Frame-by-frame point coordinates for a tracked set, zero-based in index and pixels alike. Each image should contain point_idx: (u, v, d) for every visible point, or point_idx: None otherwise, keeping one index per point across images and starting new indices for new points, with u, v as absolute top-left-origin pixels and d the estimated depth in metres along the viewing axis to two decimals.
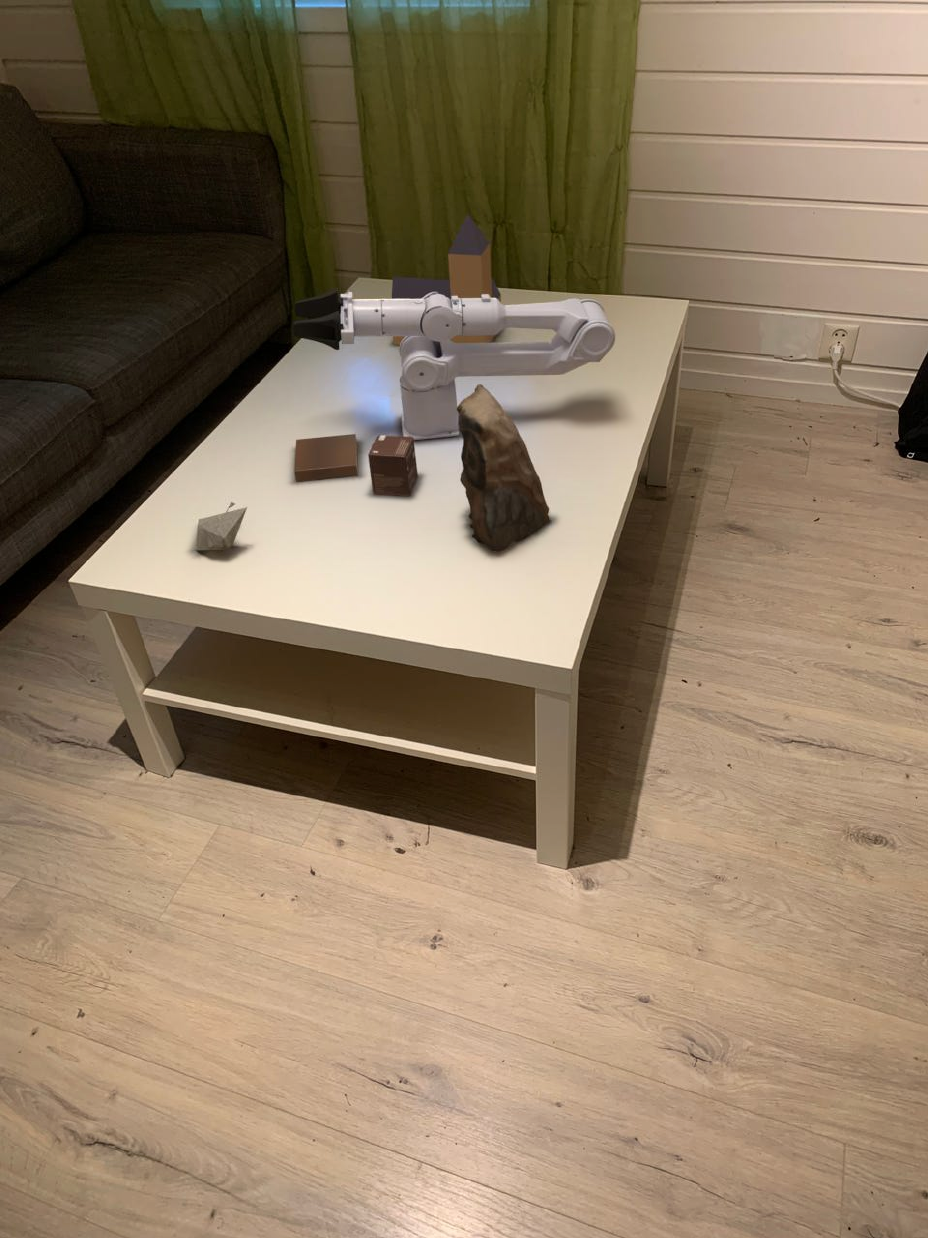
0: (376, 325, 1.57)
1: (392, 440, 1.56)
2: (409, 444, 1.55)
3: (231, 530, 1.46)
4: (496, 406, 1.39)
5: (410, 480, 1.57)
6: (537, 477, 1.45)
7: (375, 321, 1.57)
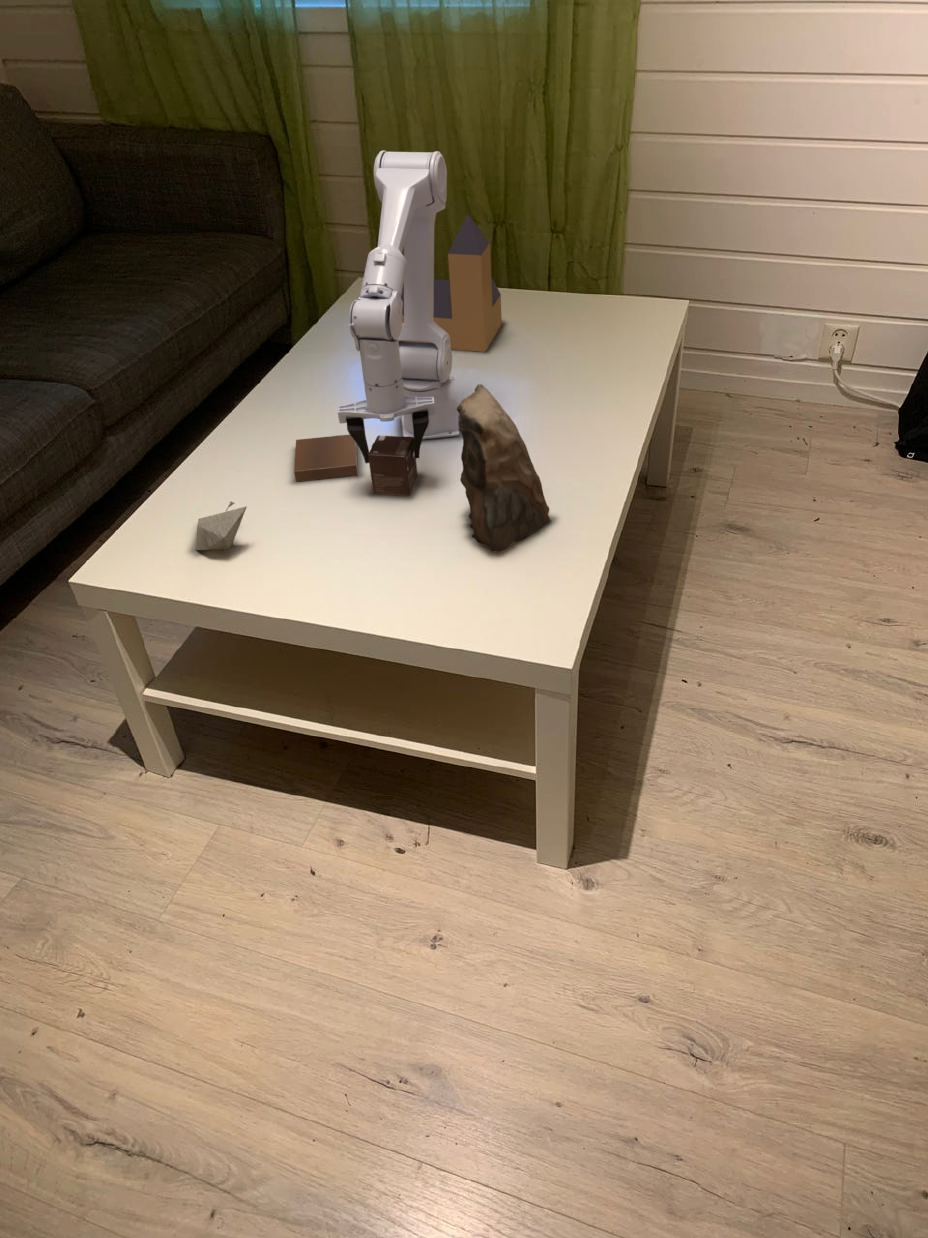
0: (402, 380, 1.48)
1: (392, 440, 1.56)
2: (409, 444, 1.55)
3: (231, 529, 1.46)
4: (496, 406, 1.39)
5: (410, 480, 1.57)
6: (537, 477, 1.45)
7: (402, 383, 1.48)
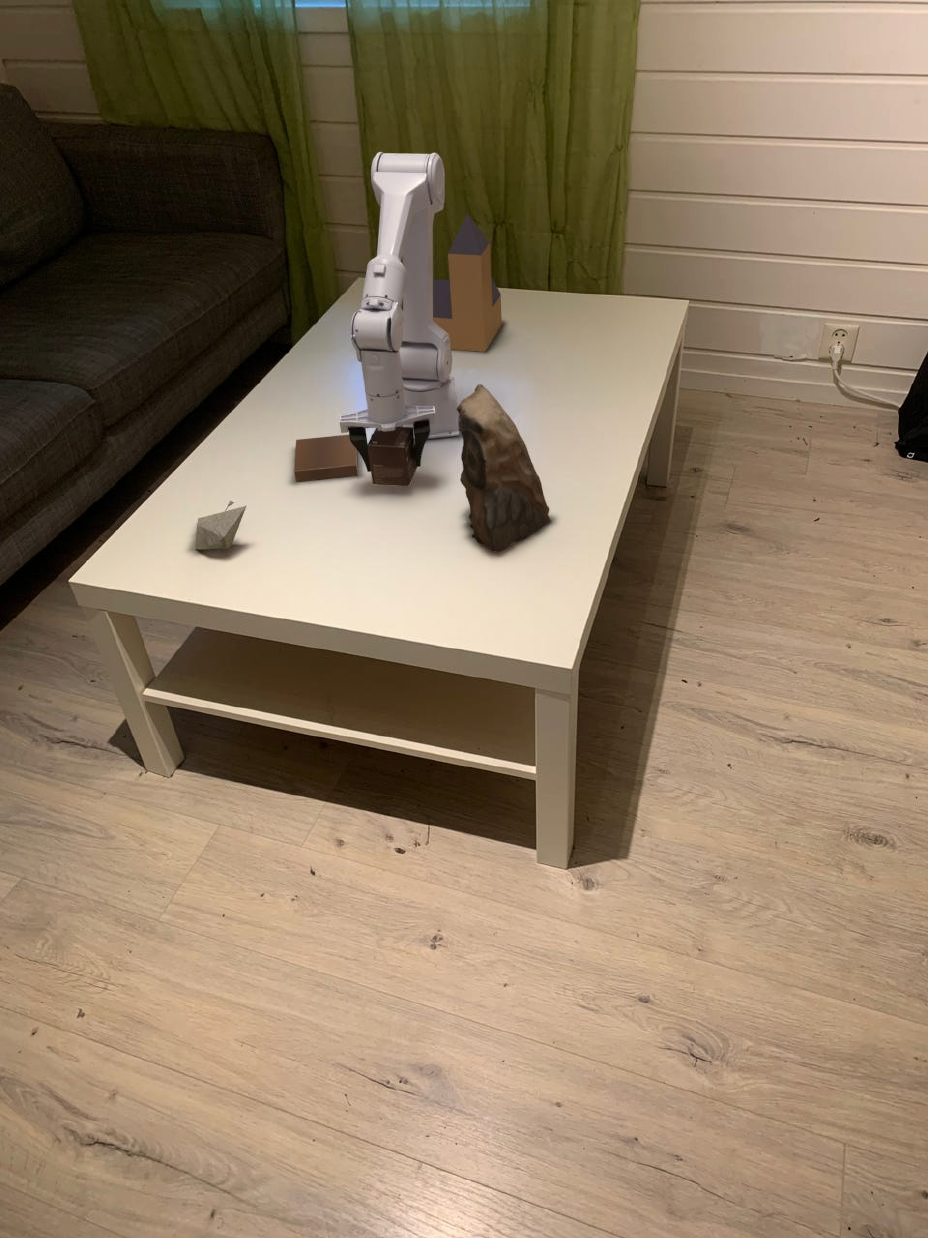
0: (403, 390, 1.49)
1: None
2: (409, 434, 1.54)
3: (231, 529, 1.46)
4: (496, 406, 1.39)
5: (410, 471, 1.56)
6: (537, 477, 1.45)
7: (403, 393, 1.49)
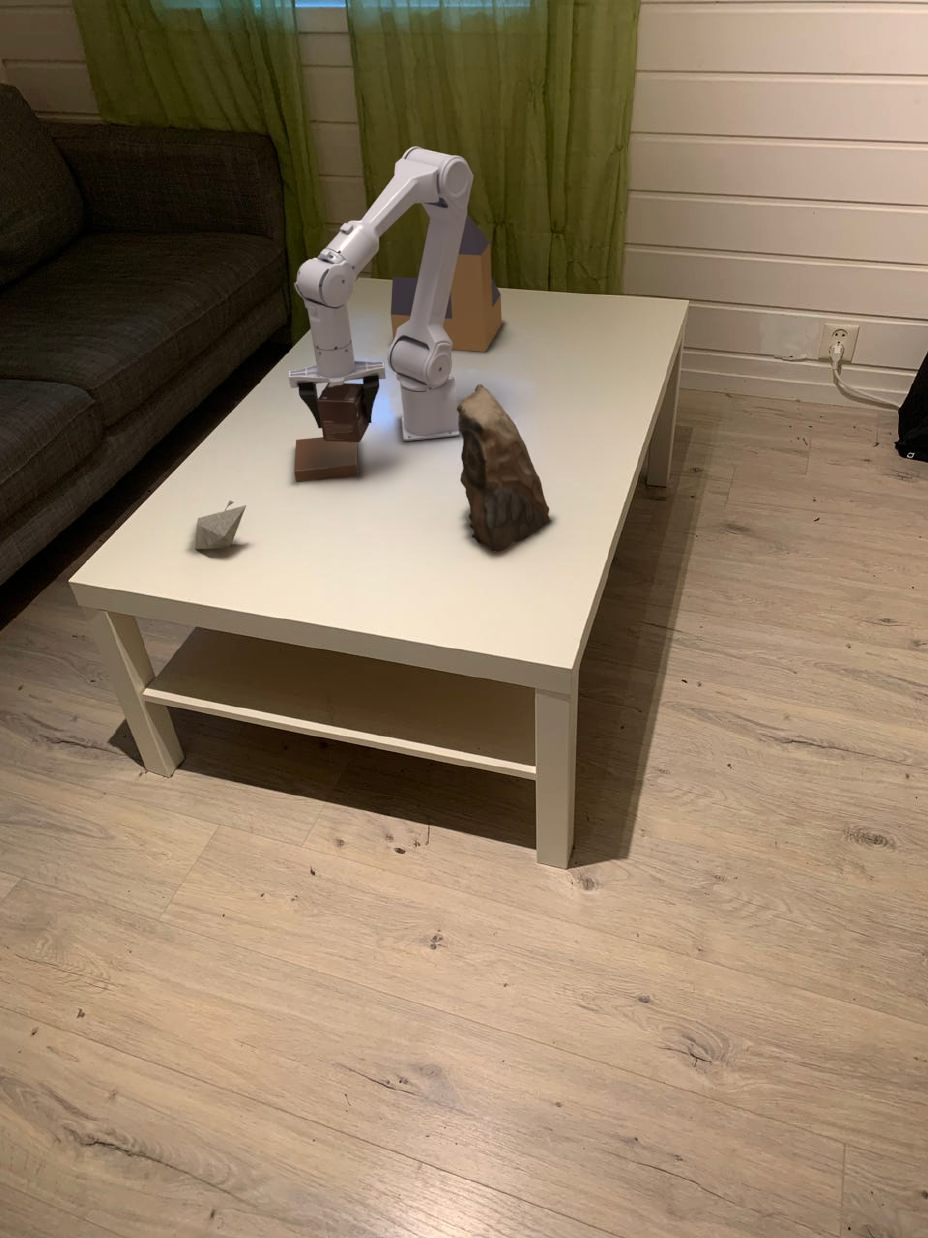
0: None
1: (342, 386, 1.56)
2: (359, 390, 1.55)
3: (230, 528, 1.46)
4: (496, 406, 1.39)
5: (360, 427, 1.57)
6: (537, 477, 1.45)
7: (351, 347, 1.50)
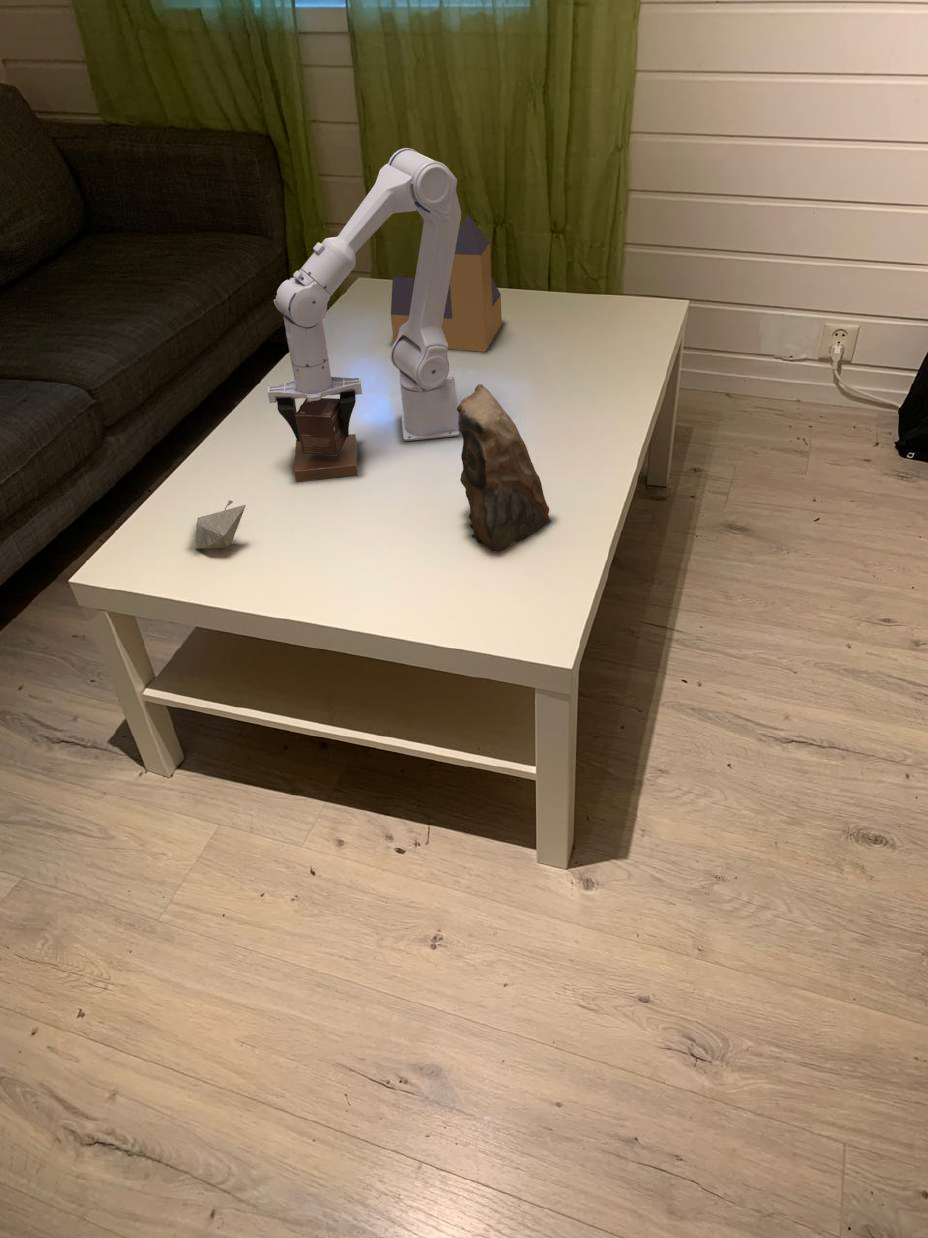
0: (328, 361, 1.55)
1: (320, 401, 1.61)
2: (336, 405, 1.60)
3: (230, 528, 1.46)
4: (496, 406, 1.39)
5: (337, 441, 1.61)
6: (537, 477, 1.45)
7: (328, 364, 1.55)
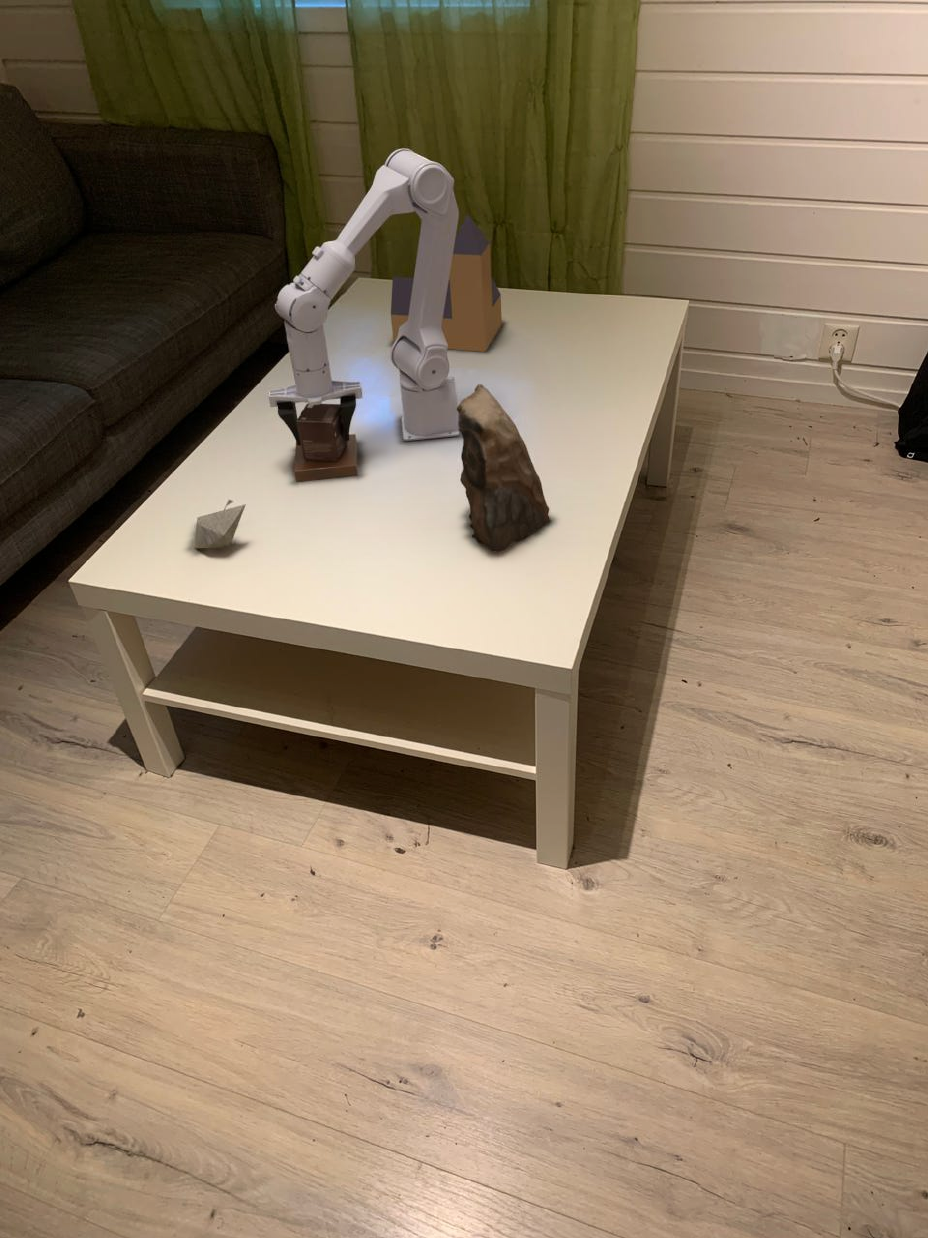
0: (329, 365, 1.55)
1: (320, 407, 1.62)
2: (336, 411, 1.60)
3: (230, 527, 1.46)
4: (496, 406, 1.39)
5: (339, 446, 1.62)
6: (537, 477, 1.45)
7: (329, 368, 1.55)
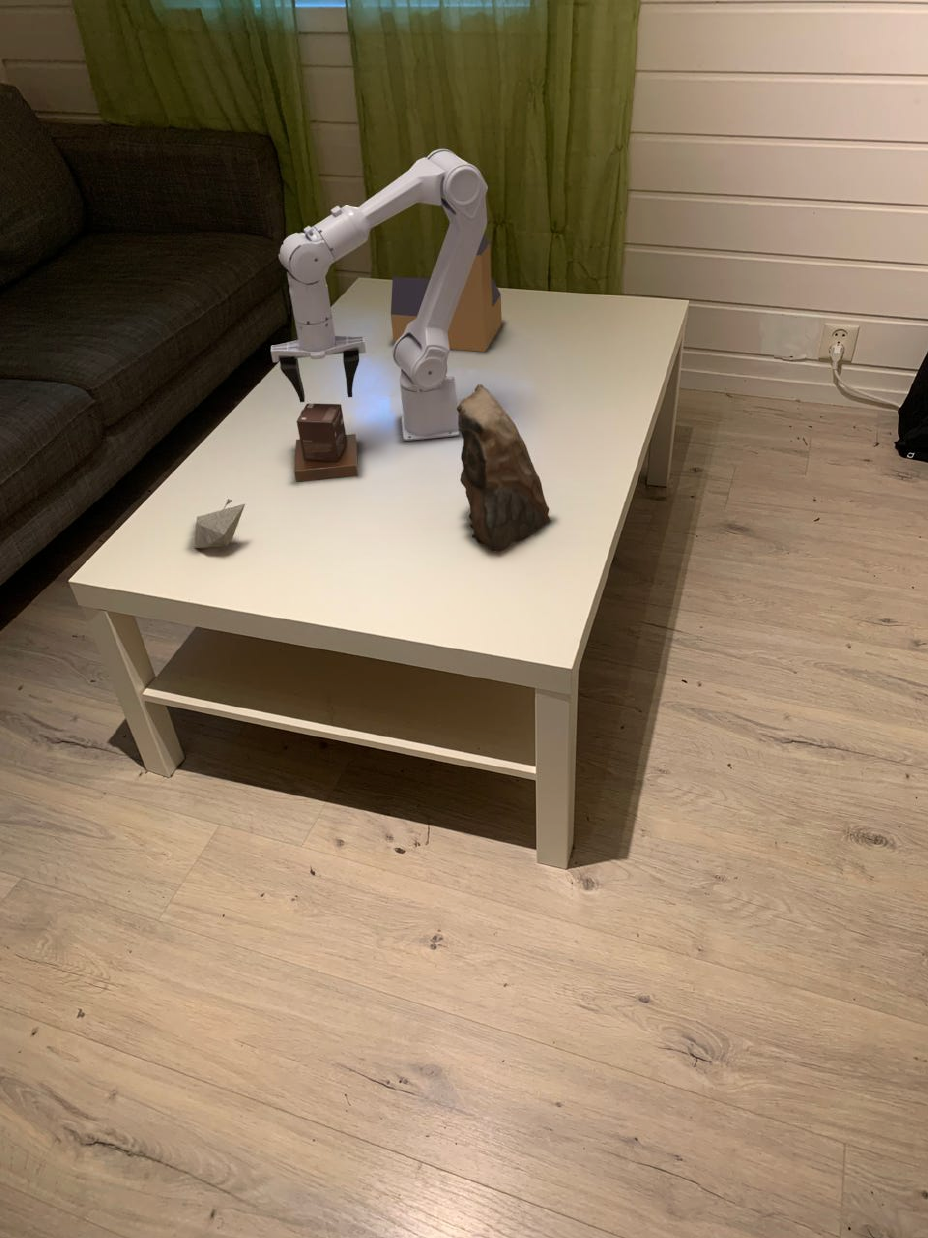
0: None
1: (321, 407, 1.62)
2: (337, 411, 1.60)
3: (230, 526, 1.46)
4: (496, 406, 1.39)
5: (339, 446, 1.62)
6: (537, 477, 1.45)
7: (332, 322, 1.53)
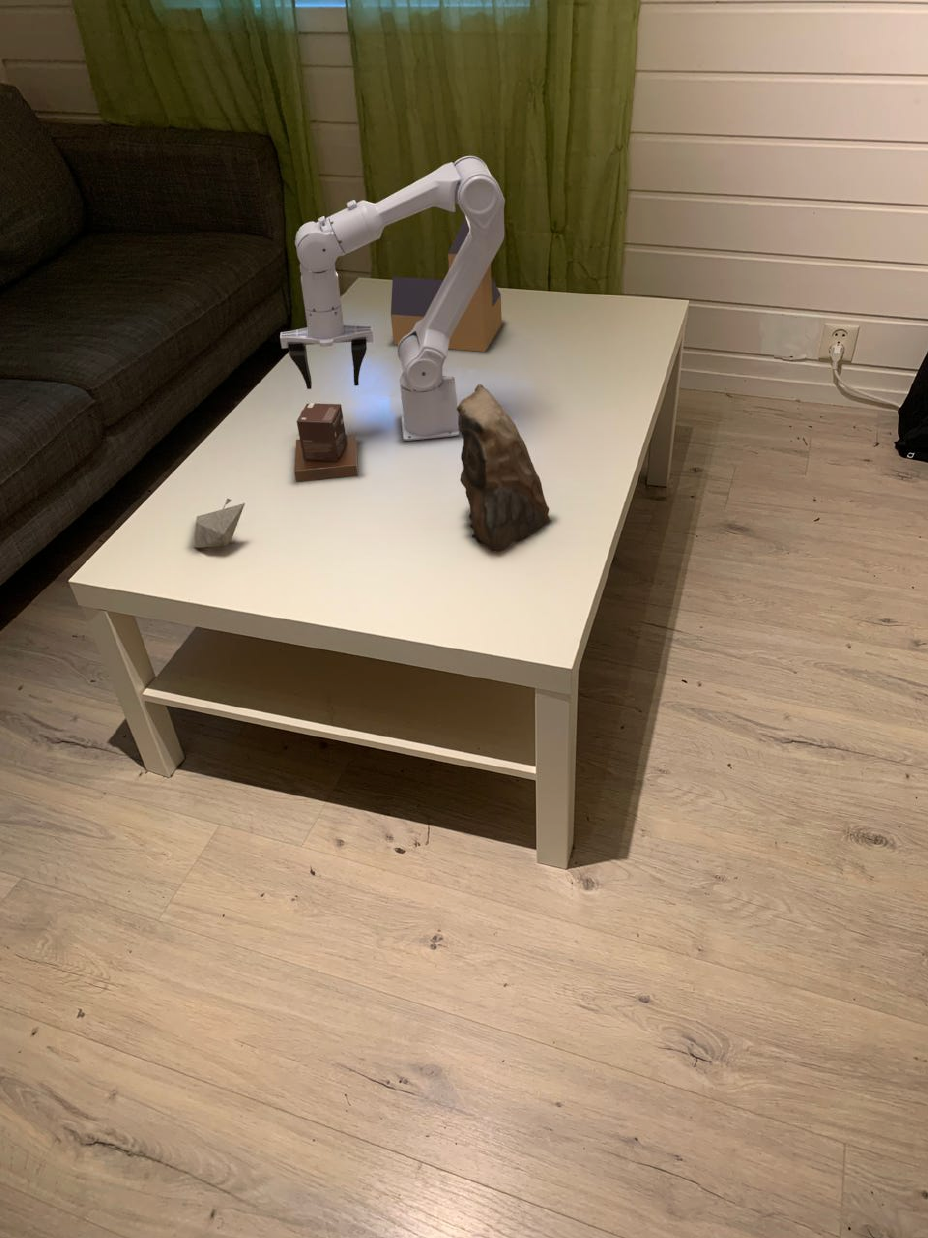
0: (341, 308, 1.57)
1: (321, 407, 1.62)
2: (337, 411, 1.60)
3: (230, 526, 1.46)
4: (496, 406, 1.39)
5: (339, 446, 1.62)
6: (537, 477, 1.45)
7: (341, 310, 1.56)
